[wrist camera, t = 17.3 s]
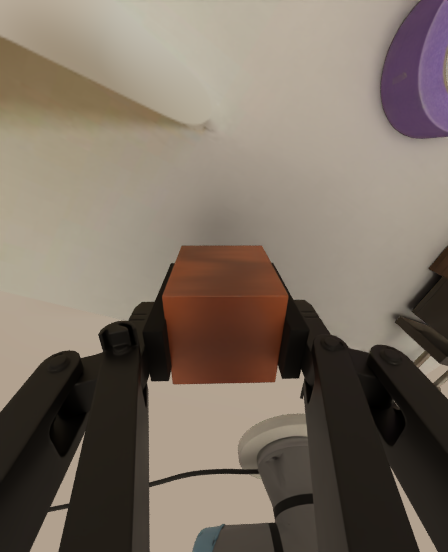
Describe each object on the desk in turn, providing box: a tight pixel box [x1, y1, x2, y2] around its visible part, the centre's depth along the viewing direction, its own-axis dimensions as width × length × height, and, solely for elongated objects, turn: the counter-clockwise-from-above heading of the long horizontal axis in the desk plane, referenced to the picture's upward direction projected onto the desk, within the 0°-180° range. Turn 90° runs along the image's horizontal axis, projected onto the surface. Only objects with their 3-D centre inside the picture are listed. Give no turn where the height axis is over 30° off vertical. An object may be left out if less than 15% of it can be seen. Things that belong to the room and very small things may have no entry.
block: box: [162, 246, 288, 384], centre depth 13 cm, size 5×5×6 cm
